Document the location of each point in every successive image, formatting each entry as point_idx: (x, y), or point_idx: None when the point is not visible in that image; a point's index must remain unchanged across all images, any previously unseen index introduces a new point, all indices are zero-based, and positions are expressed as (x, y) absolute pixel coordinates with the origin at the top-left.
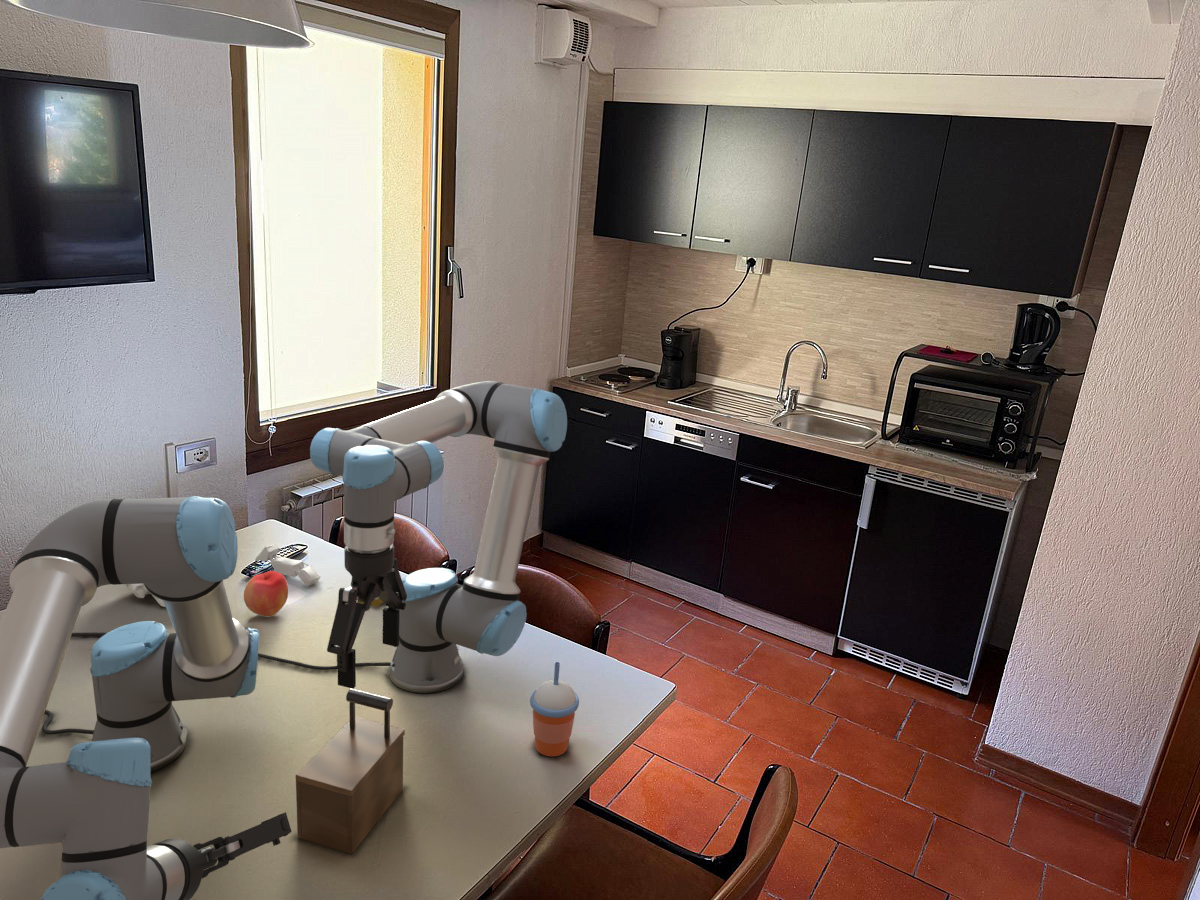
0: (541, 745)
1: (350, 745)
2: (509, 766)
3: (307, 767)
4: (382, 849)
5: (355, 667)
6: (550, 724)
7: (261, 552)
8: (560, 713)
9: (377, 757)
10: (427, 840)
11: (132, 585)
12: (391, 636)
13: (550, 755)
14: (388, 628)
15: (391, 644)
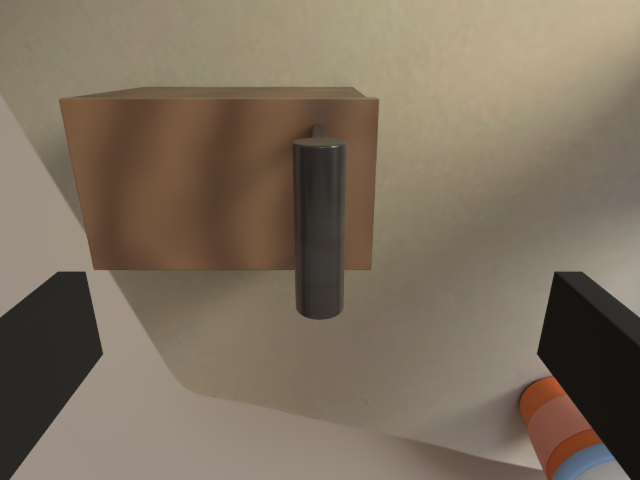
0: (529, 407)
1: (244, 171)
2: (476, 355)
3: (102, 112)
4: None
5: (35, 444)
6: (547, 467)
7: None
8: None
9: (233, 263)
10: (247, 306)
11: None
12: (576, 363)
13: (520, 409)
14: (615, 382)
15: (546, 330)
